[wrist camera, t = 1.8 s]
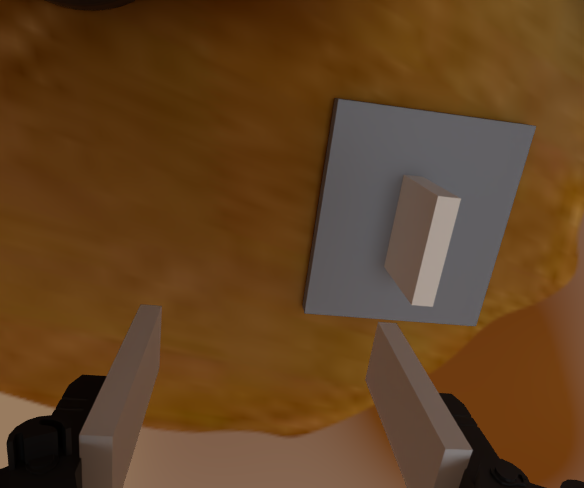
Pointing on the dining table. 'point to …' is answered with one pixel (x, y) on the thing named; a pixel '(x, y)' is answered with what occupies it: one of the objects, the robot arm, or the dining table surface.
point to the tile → (420, 238)
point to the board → (384, 199)
